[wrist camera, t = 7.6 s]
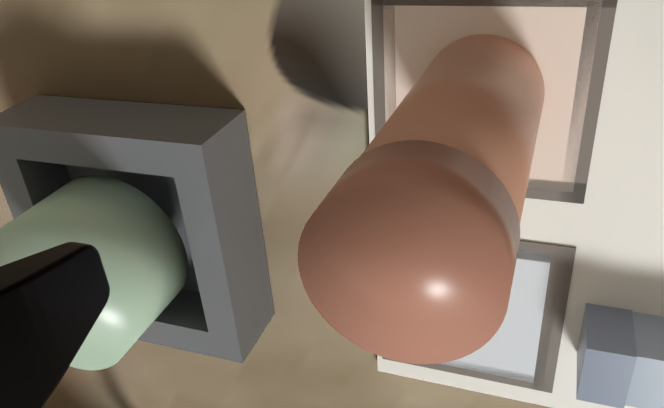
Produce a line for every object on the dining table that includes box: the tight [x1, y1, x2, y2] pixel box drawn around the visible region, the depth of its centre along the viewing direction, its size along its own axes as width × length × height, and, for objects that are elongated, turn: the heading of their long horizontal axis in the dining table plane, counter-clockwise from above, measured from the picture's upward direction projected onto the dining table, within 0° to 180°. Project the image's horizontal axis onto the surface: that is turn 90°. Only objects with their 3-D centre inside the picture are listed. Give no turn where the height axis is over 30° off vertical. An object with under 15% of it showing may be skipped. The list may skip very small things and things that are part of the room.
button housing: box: [0, 95, 275, 363], centre depth 20 cm, size 8×8×3 cm
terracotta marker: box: [298, 34, 545, 364], centre depth 12 cm, size 3×3×8 cm
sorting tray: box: [364, 0, 664, 408], centre depth 16 cm, size 13×14×1 cm
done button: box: [0, 175, 188, 370], centre depth 18 cm, size 5×5×3 cm
